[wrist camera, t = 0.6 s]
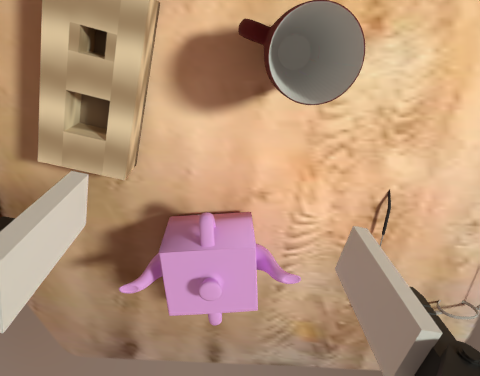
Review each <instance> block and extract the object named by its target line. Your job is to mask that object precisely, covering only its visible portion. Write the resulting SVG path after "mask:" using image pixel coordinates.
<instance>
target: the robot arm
mask: <svg viewBox="0 0 480 376" xmlns="http://www.w3.org/2000/svg"><path fill="white" fill-rule="evenodd" d="M87 193H88V174H84V173H79V172H74V171H71V172H70V173H68V174H67V175H66V176H65V177H64V178H62V179H61V180H60V181H59V182H58V183H57V184H55V185H54V186H53V187H52V188H51V189H50V190H48V191H47V192H46V193H45V194H44V195H43V196H41V197H40V198H39V199H38V200H37V201H36V202H34V203H33V204H32V205H31V206H30V207H29V208H27V209H26V210H25V211H24V212H23V213H21V214H20V215H19V216H18V217H17V218H16V219H15V218H9V217H1V218H0V333H4V332H5V330H6V329H7V328H8V326H9V325H10V324H11V322H12V321H13V320H14V319H15V317H16V316H17V315H18V313H19V312H20V310H21V309H22V308H23V307H24V305H25V304H26V303H27V301H28V300H29V299H30V298H31V296H32V295H33V294H34V292H35V291H36V290H37V288H38V287H39V286H40V284H41V283H42V282H43V280H44V279H45V278H46V276H47V275H48V274H49V273H50V271H51V270H52V269H53V267H54V266H55V265H56V263H57V262H58V261H59V259H60V258H61V257H62V255H63V254H64V253H65V251H66V250H67V249H68V248H69V246H70V245H71V244H72V242H73V241H74V240H75V238H76V237H77V236H78V234H79V233H80V232H81V230H82V229H83V228H84V226H85V225H86V211H87ZM335 270H336V272H337V275H338V277H339V279H340V281H341V283H342V286H343V288H344V290H345V292H346V294H347V296H348V299H349V301H350V303H351V305H352V307H353V310H354V312H355V314H356V316H357V318H358V321H359V323H360V325H361V327H362V329H363V331H364V334H365V336H366V338H367V340H368V342H369V345H370V347H371V349H372V351H373V353H374V356H375V358H376V360H377V362H378V364H379V366H380V369H381V371H382V373H383V375H384V376H480V352H479V351H477V350H476V349H474V348H473V347H471V346H469V345H468V344H466V343H463V342H460V341H457V340H456V339H455V338H454V336H453V335H452V334H451V332H450V331H449V330H448V328H447V327H446V326H445V324H444V323H443V322H442V320H441V319H440V318H439V316H437V315H436V312H435V311H434V310H433V308H431V307H430V304H429V303H428V302H427V300H426V299H425V298H424V296H422V295H421V294H420V293H419V292H418V291H417V290H415V289H414V288H413V287H409V286H408V284H407V283H406V282H405V280H404V279H403V278H402V276H401V275H400V273H399V272H398V271H397V269H396V268H395V266H394V265H393V264H392V262H391V261H390V260H389V258H388V257H387V255H386V254H385V253H384V251H383V250H382V248H381V247H380V246H379V244H378V243H377V241H376V240H375V239H374V237H373V236H372V235H371V233H370V232H369V230H368V229H367V228H361V227H356V226H353V228H352V230H351V232H350V235H349V237H348V239H347V242H346V244H345V246H344V249H343V251H342V253H341V256H340V258H339V260H338V263H337V265H336V267H335Z"/></svg>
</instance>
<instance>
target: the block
mask: <svg viewBox="0 0 480 376" xmlns="http://www.w3.org/2000/svg"><path fill="white" fill-rule="evenodd" d="M159 7H160V2H158V1H156V0H42V23H41V60H40V97H39V133H38V162H43V163H48V164H52V165H57V166H61V167H66V168H71V169H75V170H80V171H84V172H89V173H93V174H98V175H103V176H107V177H112V178H116V179H121V180H125V179H126V178H127V177H128V175H129V174H130V173H131V171H132V170H133V168H134V167H135V166H136V162H137V156H138V149H139V142H140V135H141V129H142V122H143V115H144V109H145V102H146V95H147V88H148V82H149V75H150V68H151V61H152V55H153V48H154V41H155V34H156V28H157V21H158V14H159Z"/></svg>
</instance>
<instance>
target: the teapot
mask: <svg viewBox="0 0 480 376" xmlns="http://www.w3.org/2000/svg"><path fill="white" fill-rule="evenodd" d="M257 270H262V271H265V272H267V273H268V274H269V275H270V276H271V277H272V278H274V279H275V280H277V281H279V282H282V283H286V284H293V283H298V282H300V281H301V278H300V277H299V276H297V275H294V274H290V273H287V272H286V271H284V270H283V269H282V268H280V266H279V265H278V264H277V262H276V261H275V259H274V257H273V256H272V254H271V253H270V252H269V251H268V250H267V249H266V248H265V247H263V246H261V245H259V244H256V243H255V236H254V229H253V222H252V215H251V212H242V213H224V214H211V213H208V212H205V213H202V214H201V215H188V216H171V217H170V218H169V221H168V224H167V227H166V231H165V234H164V237H163V240H162V243H161V246H160V249H159V253H158V254H157V255H155V256H154V258H153V259H152V260H151V261H150V263H149V264H148V266H147V267H146V269H145V271H144V272H143V273H142V274H141V276H140V277H138V278H137V279H136V280H134V281H133V282H131V283H128V284H126V285H123V286H121V287H120V288H119V291H120V292H122V293H135V292H138V291H141V290H143V289H145V288H146V287H148V286H149V285H150V284H151V283H153V282H154V281H155V280H156V279H158V278H160V277H162V276H163V281H164V287H165V293H166V299H167V305H168V311H169V315H170V316H172V315H192V314H208V317H209V322H210V323H211V324H212V325H218V324H220V323H221V321H222V313H226V312H242V311H255V310H258V301H257Z"/></svg>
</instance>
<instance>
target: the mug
mask: <svg viewBox="0 0 480 376" xmlns="http://www.w3.org/2000/svg"><path fill="white" fill-rule="evenodd" d="M239 34H240V35H241V36H243V37H244V38H247V39H249V40H251V41H254V42H257V43H260V44H263V45H264V61H265V67H266V71H267V74H268V76H269V78H270V80H271V82H272V83H273V85H274V86H275V87H276V89H277V90H278V91H280V92H281V93H282V94H283V95H284V96H286V97H287V98H289V99H290V100H292V101H294V102H297V103H300V104H305V105H319V104H324V103H327V102H330V101H332V100H334V99H336V98H338V97H339V96H341V95H342V94H343V93H344V92H346V91H347V90H348V89H349V88H350V87H351V85H352V84H353V83H354V81H355V80H356V78H357V77H358V75H359V73H360V70H361V68H362V65H363V61H364V56H365V39H364V34H363V31H362V28H361V26H360V24H359V22H358V20H357V19H356V17H355V16H354V15H353V14H352V13H351V12H350V11H349V10H348V9H347V8H345V7H344V6H342V5H340V4H338V3H336V2H333V1H329V0H313V1H308V2H305V3H302V4H300V5H297V6H295V7H293V8H291V9H290V10H288V11H287V12H286V13H284V14H283V15H282V16H281V17H280V18H279V19H278V20H277V21H276V22H275V23H274V24H273V25H272V26H271V27H268V26H265V25H263V24H261V23H258V22H256V21H253V20H250V19H244V20H242V22H241V23H240V25H239Z"/></svg>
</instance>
